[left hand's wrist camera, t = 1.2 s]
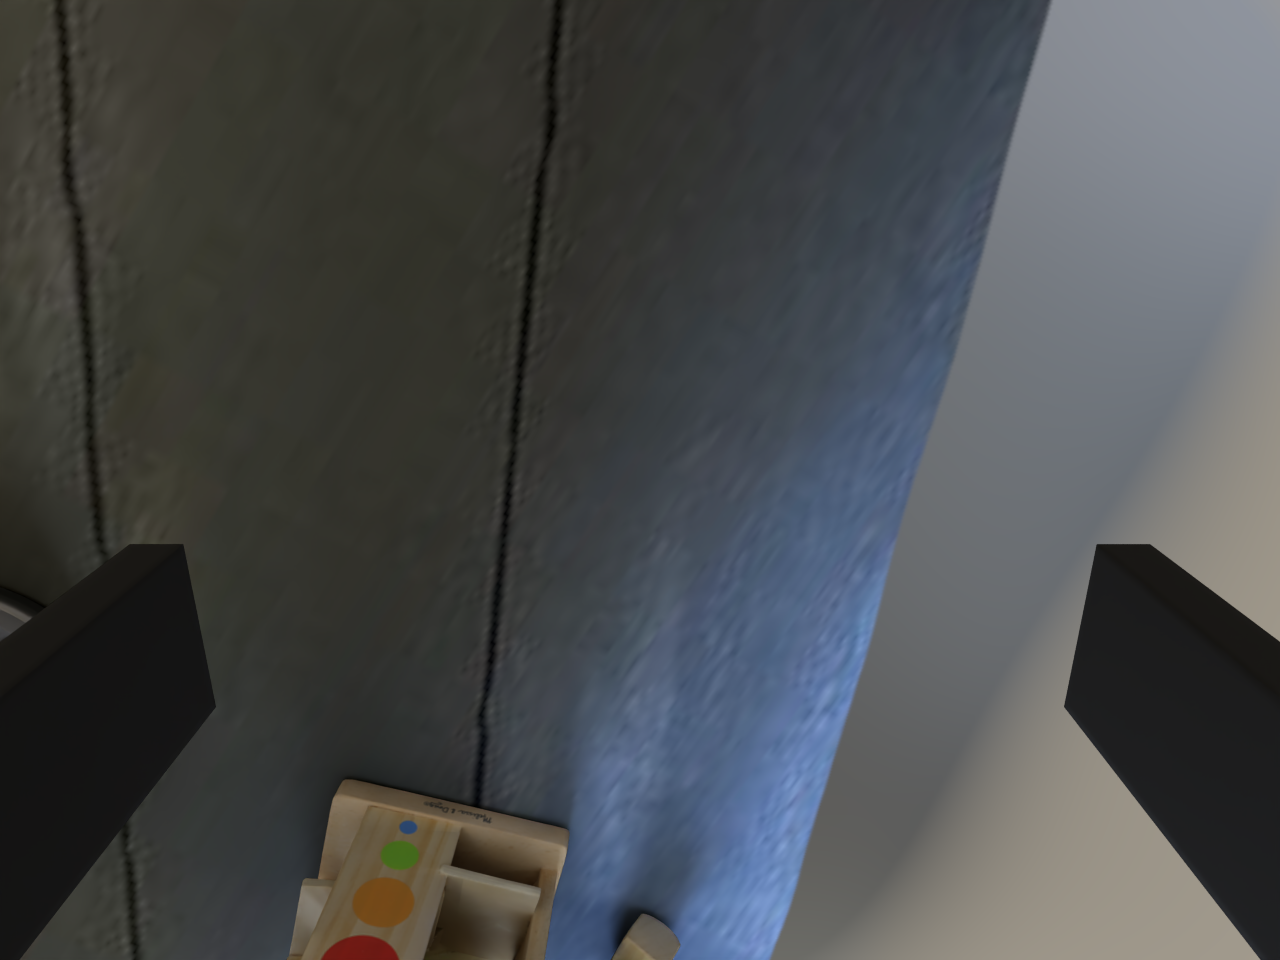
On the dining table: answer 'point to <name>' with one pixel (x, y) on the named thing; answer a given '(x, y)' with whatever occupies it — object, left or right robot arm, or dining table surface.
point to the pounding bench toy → (439, 884)
